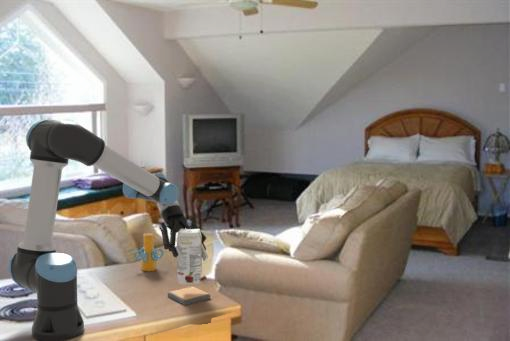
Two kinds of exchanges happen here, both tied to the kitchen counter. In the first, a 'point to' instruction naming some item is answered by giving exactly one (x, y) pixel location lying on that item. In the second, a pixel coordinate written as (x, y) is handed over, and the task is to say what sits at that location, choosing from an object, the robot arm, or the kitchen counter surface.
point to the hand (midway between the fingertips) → (194, 261)
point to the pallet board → (188, 295)
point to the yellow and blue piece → (148, 253)
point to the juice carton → (190, 256)
